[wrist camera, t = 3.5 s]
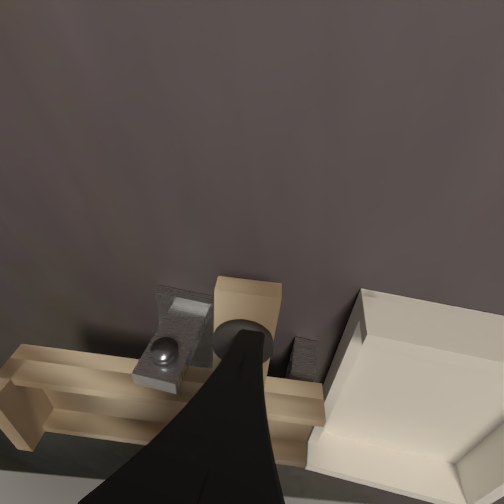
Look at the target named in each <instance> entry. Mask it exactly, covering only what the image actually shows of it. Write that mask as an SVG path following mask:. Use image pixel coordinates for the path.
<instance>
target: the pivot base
mask: <svg viewBox="0 0 504 504" xmlns="http://www.w3.org/2000/svg"><path fill="white" fill-rule="evenodd" d="M155 296H156V303H157V310H158V317H159V325H160V326H159V328H158V329H157V331H156V333H155V334H154V336H153V338H152V339H151V341H150V343H149V344H148V346H147V348H146V349H145V351H144V353H143V355H142V356H141V358H140V360H139V361H138V363H137V365H136V366H135V368H134V370H133V371H132V373H131V374H132V378H133V382H134V384H137V385H141V386H145V387H149V388H153V389H157V390H161V391H165V392H169V393H173V394H177V392H178V390H179V387H180V385H181V383H182V380H183V378H184V376H185V373H186V371H187V369H188V366H193V367H200V368H208V369H213V349H212V339H213V335H214V296H209V295H204V294H199V293H194V292H189V291H185V290H180V289H175V288H170V287H165V286H159V288H158V289H157V290H156V292H155ZM316 345H317V341H313V340H308V339H303V338H299V337H295V340H294V344H293V348H292V351H291V355H290V359H289V363H288V367H287V371H286V375H285V379H291V380H299V381H306V382H314V379H315V373H316Z"/></svg>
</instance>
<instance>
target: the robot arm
mask: <svg viewBox="0 0 504 504" xmlns="http://www.w3.org/2000/svg"><path fill="white" fill-rule="evenodd" d="M264 340H265V334H264V333H263V332H259V331H252V330H245V329H242V330H240V331H239V333H238V335H237V337H236V338H235V340H234V342H233V344H232V345H231V347H230V348H229V350H228V351H227V353H226V355H225V356H224V358H223V359H222V360H221V362H220V363H219V364H218V366H217V367H216V369H215V370H214V371H213V373H212V374H211V375H210V377H209V378H208V379H207V380H206V382H205V383H204V384H203V385H202V387H201V388H200V389H199V390H198V392H197V393H196V394H195V395H194V396H193V397H192V399H191V400H190V401H189V402H188V403H187V404H186V405H185V407H184V408H183V409H182V410H181V411H180V412H179V413H178V414H177V415H176V416H175V417H174V418H173V419H172V420H171V421H170V422H169V423H168V424H167V425H166V426H165V427H164V428H163V429H162V430H161V431H160V432H159V433H158V434H157V435H156V436H155V437H154V438H153V439H152V440H151V441H150V442H149V443H148V444H147V445H146V446H145V447H144V448H142V449H141V450H140V451H139V452H138V453H137V454H136V455H135V456H133V457H132V458H131V459H130V460H129V461H128V462H127V463H125V464H124V465H123V466H122V467H121V468H120V469H119V470H117V471H116V472H115V473H114V474H113V475H111V476H110V477H109V478H108V479H106V480H105V481H104V482H103V483H102V484H100V485H99V486H98V487H97V488H95V489H94V490H93V491H92V492H90V493H89V494H88V495H86V496H85V497H84V498H83V499H82V500H80V501H79V502H78V504H285V502H284V498H283V494H282V489H281V485H280V481H279V477H278V473H277V468H276V464H275V459H274V454H273V449H272V443H271V438H270V432H269V426H268V419H267V412H266V404H265V394H264V381H263V346H264Z"/></svg>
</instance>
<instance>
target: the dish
mask: <svg viewBox="0 0 504 504" xmlns="http://www.w3.org/2000/svg"><path fill="white" fill-rule="evenodd" d="M322 388H323V398H324V408H325V417H326V423H325V425H324V427H319V426H313V427H312V429H311V431H310V434H309V436H308V439H307V442H306V459H307V464H306V466H305V469H307V470H311V471H315V472H318V473H322V474H326V475H330V476H333V477H337V478H341V479H345V480H349V481H352V482H356V483H360V484H364V485H367V486H371V487H375V488H379V489H382V490H386V491H390V492H394V493H397V494H401V495H405V496H409V497H412V498H416V499H420V500H424V501H428V502H431V503H435V504H491V503H493V502H495V501H496V500H498V499H500V498H501V497H503V496H504V316H502V315H497V314H492V313H487V312H481V311H476V310H471V309H466V308H461V307H455V306H450V305H445V304H440V303H435V302H429V301H424V300H419V299H414V298H409V297H403V296H398V295H393V294H388V293H383V292H378V291H372V290H367V289H362V288H361V289H360V292H359V294H358V297H357V300H356V302H355V305H354V307H353V310H352V312H351V315H350V317H349V320H348V323H347V325H346V328H345V330H344V333H343V335H342V338H341V341H340V343H339V346H338V348H337V351H336V353H335V356H334V358H333V361H332V364H331V366H330V369H329V371H328V374H327V376H326V379H325V381H324V384H323V387H322Z"/></svg>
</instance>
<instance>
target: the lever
mask: <svg viewBox="0 0 504 504" xmlns="http://www.w3.org/2000/svg"><path fill="white" fill-rule="evenodd" d="M281 299H282V284H281V283H273V282H265V281H256V280H248V279H240V278H232V277H224V276H218V279H217V282H216V286H215V289H214V335H213V339H212V349H213V369H208V368H200V367H193V366H188V369H187V371H186V373H185V376H184V378H183V380H182V383H181V385H180V387H179V390H178V392H177V394H173V393H169V392H165V391H161V390H157V389H153V388H149V387H145V386H141V385H137V384H134V382H133V378H132V374H131V373H132V371H133V370H134V368H135V366H136V365H137V363H138V361H139V360H140V359H132V358H125V357H117V356H110V355H102V354H95V353H87V352H79V351H72V350H64V349H57V348H49V347H42V346H34V345H27V344H21V345H20V347H19V348H18V349H17V350H16V351H15V352H14V354H13V355H12V356H11V357H10V358H9V359H8V360H7V362H6V363H5V364H4V365H3V366H2V367H1V368H0V429H1V430H2V431H3V432H4V433H5V435H6V436H7V437H8V438H9V439H10V441H11V442H12V443H13V444H14V445H15V447H16V448H17V449H19V450H26V451H33V450H34V449H35V447H36V445H37V444H38V442H39V441H40V439H41V437H42V436H43V434H44V432H45V431H48V432H55V433H62V434H69V435H76V436H83V437H91V438H98V439H105V440H112V441H119V442H126V443H133V444H141V445H147V444H148V443H149V442H150V441H151V440H152V439H153V438H154V437H155V436H156V435H157V434H158V433H159V432H160V431H161V430H162V429H163V428H164V427H165V426H166V425H167V424H168V423H169V422H170V421H171V420H172V419H173V418H174V417H175V416H176V415H177V414H178V413H179V412H180V411H181V410H182V409H183V408H184V407H185V405H186V404H187V403H188V402H189V401H190V400H191V399H192V397H193V396H194V395H195V394H196V393H197V392H198V390H199V389H200V388H201V387H202V385H203V384H204V383H205V382H206V380H207V379H208V378H209V377H210V375H211V374H212V373H213V371H214V370H215V369H216V367H217V366H218V364H219V363H220V362H221V360H222V359H223V358H224V356H225V355H226V353H227V351H228V350H229V348H230V347H231V345H232V344H233V342H234V340H235V338H236V337H237V335H238V333H239V331H240V330H242V329H245V330H252V331H259V332H263V333H264V334H265V340H264V346H263V381H264V394H265V404H266V412H267V419H268V426H269V432H270V438H271V443H272V449H273V454H274V459H275V463H276V464H284V465H291V466H298V467H305V466H306V464H307V459H306V441H307V439H308V436H309V434H310V431H311V429H312V427H313V426H319V427H324V425H325V423H326V417H325V408H324V398H323V388H322V383H314V382H306V381H299V380H291V379H284V378H276V377H269V376H267V372H268V367H269V362H270V357H271V355H272V352H273V341H274V336H275V330H276V325H277V320H278V315H279V310H280V304H281Z"/></svg>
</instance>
